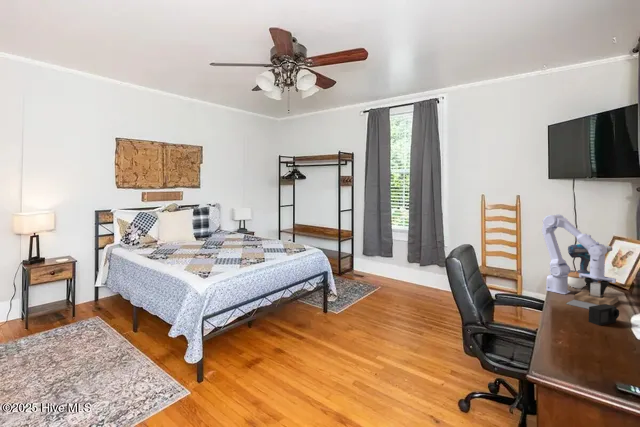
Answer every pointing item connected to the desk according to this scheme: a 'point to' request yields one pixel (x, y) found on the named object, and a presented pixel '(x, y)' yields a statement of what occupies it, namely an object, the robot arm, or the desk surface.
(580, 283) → the lidded jar
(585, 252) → the impact wrench
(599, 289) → the grey rectangular block
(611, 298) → the socket block
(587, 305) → the mat
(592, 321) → the digital camera
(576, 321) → the desk surface
